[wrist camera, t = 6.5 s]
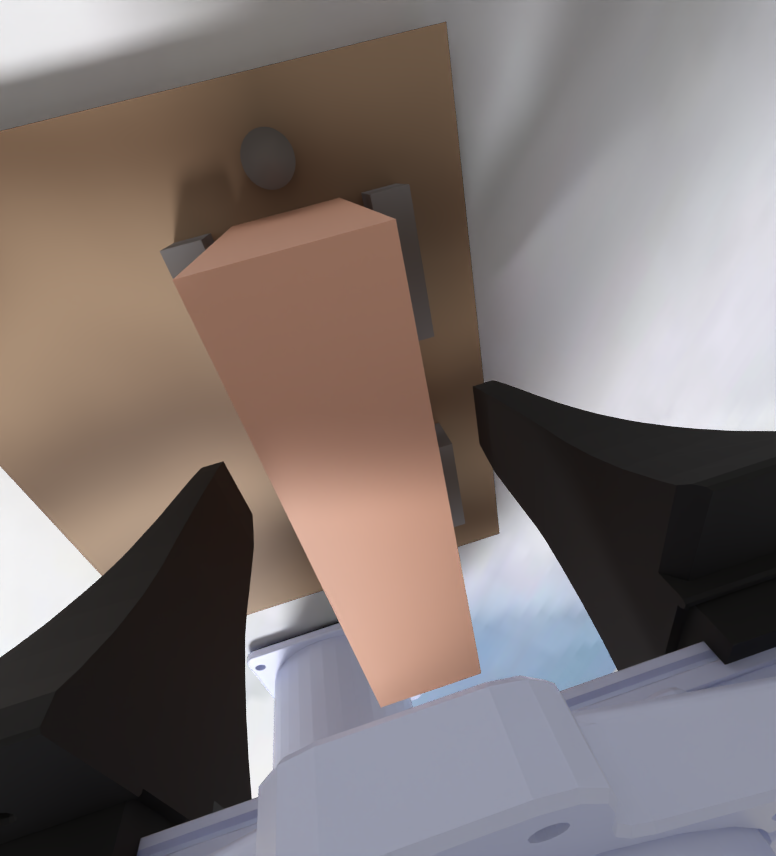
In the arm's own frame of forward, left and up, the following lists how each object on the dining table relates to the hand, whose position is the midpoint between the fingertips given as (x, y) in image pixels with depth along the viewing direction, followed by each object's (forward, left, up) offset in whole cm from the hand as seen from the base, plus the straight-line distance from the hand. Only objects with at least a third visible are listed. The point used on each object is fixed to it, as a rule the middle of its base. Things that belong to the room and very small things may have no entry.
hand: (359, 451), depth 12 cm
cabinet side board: (0, +3, -4) cm, 5 cm away
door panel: (0, 0, -3) cm, 3 cm away
